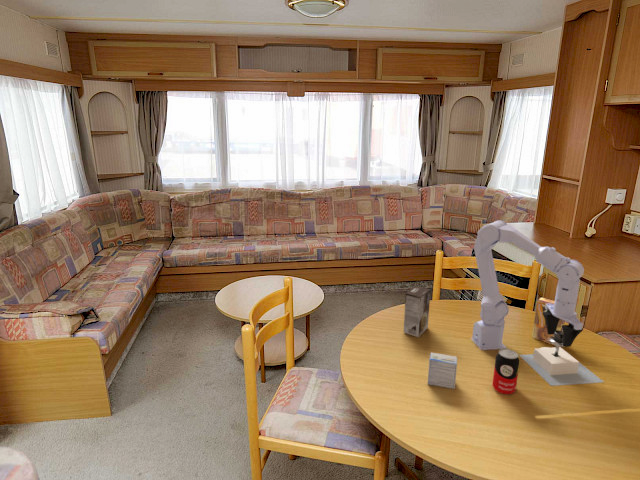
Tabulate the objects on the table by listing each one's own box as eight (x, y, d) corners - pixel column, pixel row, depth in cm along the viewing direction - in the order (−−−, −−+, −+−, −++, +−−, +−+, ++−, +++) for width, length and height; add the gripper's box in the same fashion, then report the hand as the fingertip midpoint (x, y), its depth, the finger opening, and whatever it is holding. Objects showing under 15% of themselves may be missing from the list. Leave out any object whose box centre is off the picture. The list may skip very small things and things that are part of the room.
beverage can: (487, 386, 123) (491, 350, 120) (503, 381, 126) (507, 345, 122) (503, 398, 118) (509, 361, 114) (520, 393, 120) (525, 356, 117)
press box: (549, 375, 128) (551, 363, 126) (529, 356, 138) (531, 346, 137) (577, 373, 128) (579, 362, 127) (555, 355, 139) (556, 344, 138)
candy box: (561, 343, 147) (568, 304, 143) (557, 348, 144) (564, 307, 140) (535, 335, 153) (541, 296, 149) (531, 339, 150) (537, 300, 146)
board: (550, 387, 123) (551, 385, 122) (518, 356, 139) (518, 355, 139) (603, 383, 124) (604, 382, 124) (565, 353, 141) (566, 352, 140)
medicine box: (455, 381, 126) (457, 356, 123) (454, 390, 122) (457, 364, 119) (428, 376, 128) (430, 351, 126) (427, 384, 124) (429, 359, 122)
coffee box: (412, 323, 162) (415, 285, 158) (428, 328, 158) (431, 288, 154) (402, 332, 155) (404, 292, 151) (418, 337, 151) (421, 296, 147)
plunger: (553, 359, 129) (557, 337, 126) (543, 351, 133) (547, 329, 131) (568, 358, 129) (573, 336, 127) (558, 350, 134) (562, 328, 132)
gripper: (595, 309, 120) (587, 351, 123) (562, 290, 133) (555, 328, 137) (572, 310, 119) (565, 352, 123) (541, 291, 133) (535, 329, 136)
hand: (558, 339), depth 130 cm, fingers open, 7 cm apart
